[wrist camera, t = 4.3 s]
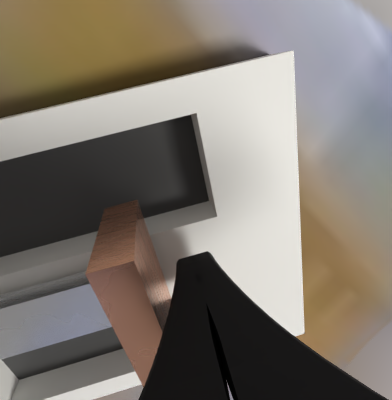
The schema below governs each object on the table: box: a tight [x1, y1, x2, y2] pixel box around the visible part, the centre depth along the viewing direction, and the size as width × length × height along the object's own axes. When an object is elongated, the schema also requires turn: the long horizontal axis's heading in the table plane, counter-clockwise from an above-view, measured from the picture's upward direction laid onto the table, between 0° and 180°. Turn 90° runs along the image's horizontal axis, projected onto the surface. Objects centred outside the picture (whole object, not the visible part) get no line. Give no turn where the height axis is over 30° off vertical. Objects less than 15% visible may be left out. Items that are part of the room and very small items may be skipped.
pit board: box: [0, 51, 304, 400], centre depth 10 cm, size 12×16×2 cm
